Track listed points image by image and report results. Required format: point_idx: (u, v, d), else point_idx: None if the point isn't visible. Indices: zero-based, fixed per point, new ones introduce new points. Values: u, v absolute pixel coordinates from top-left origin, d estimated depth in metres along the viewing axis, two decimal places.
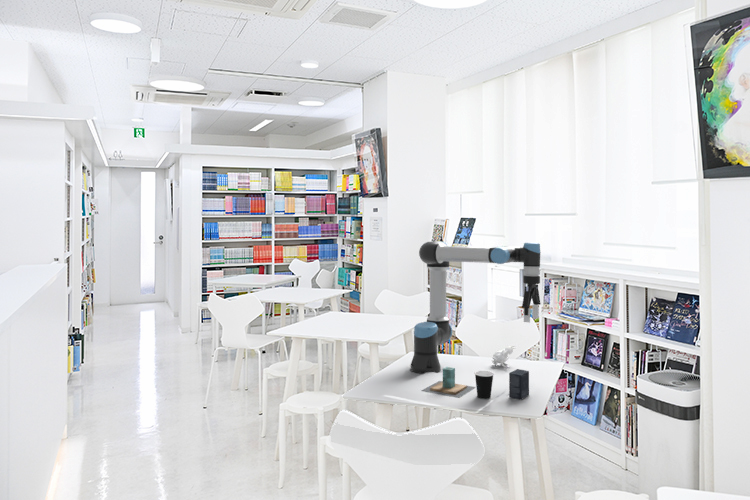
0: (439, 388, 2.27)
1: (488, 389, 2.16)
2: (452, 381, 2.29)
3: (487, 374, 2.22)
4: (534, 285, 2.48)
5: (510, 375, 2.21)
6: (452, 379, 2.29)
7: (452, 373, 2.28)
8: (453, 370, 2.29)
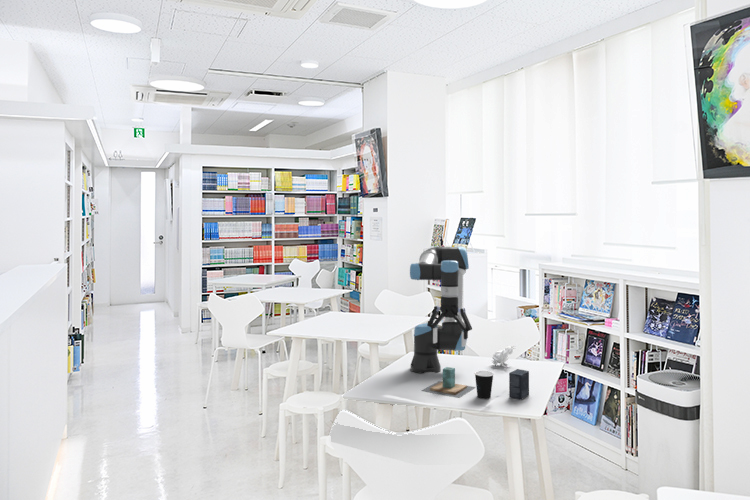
0: (439, 388, 2.27)
1: (488, 389, 2.16)
2: (452, 381, 2.29)
3: (487, 374, 2.22)
4: (450, 307, 2.27)
5: (510, 375, 2.21)
6: (452, 379, 2.29)
7: (452, 373, 2.28)
8: (453, 370, 2.29)
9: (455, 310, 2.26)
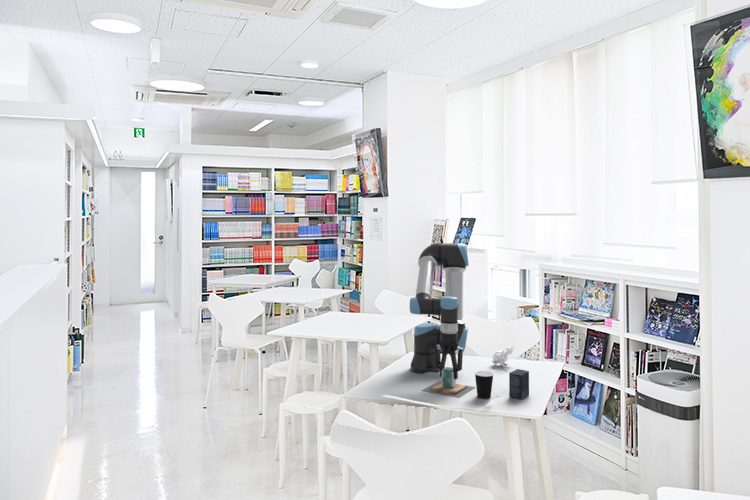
0: (439, 388, 2.27)
1: (488, 389, 2.16)
2: None
3: (487, 374, 2.21)
4: None
5: (510, 375, 2.21)
6: None
7: None
8: None
9: (454, 347, 2.27)
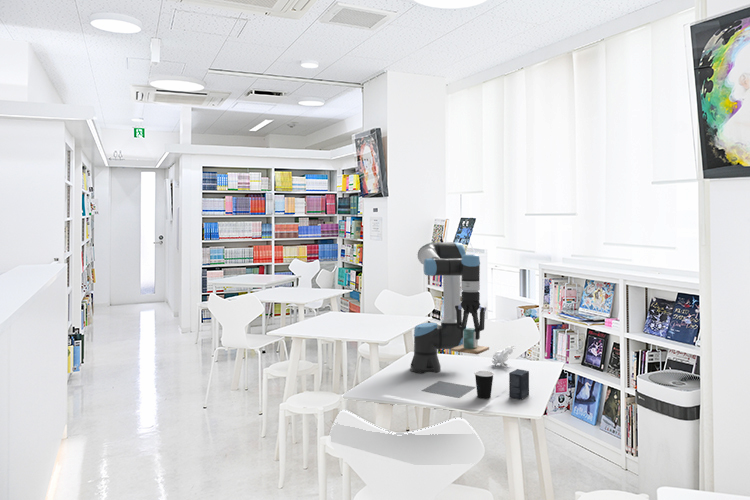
0: (460, 349, 2.19)
1: (488, 389, 2.16)
2: None
3: (487, 374, 2.21)
4: None
5: (510, 375, 2.21)
6: None
7: None
8: None
9: (476, 306, 2.19)
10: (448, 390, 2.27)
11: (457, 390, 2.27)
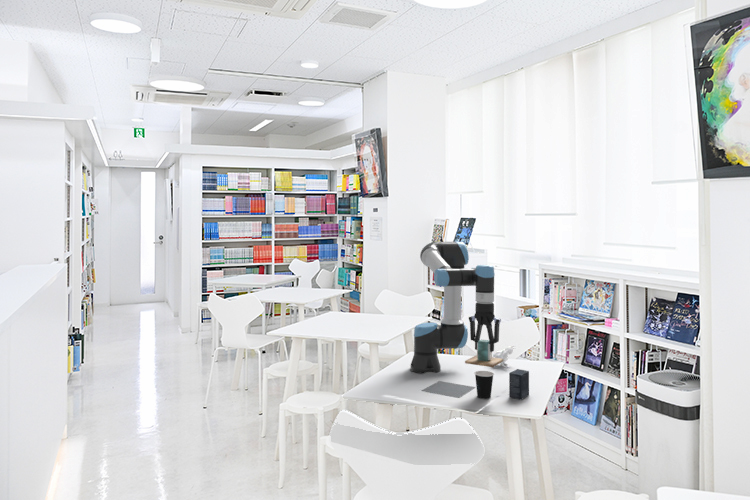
0: (475, 361, 2.16)
1: (488, 389, 2.16)
2: None
3: (487, 374, 2.21)
4: None
5: (510, 375, 2.21)
6: None
7: None
8: (489, 342, 2.17)
9: (491, 317, 2.15)
10: (448, 390, 2.27)
11: (457, 390, 2.27)
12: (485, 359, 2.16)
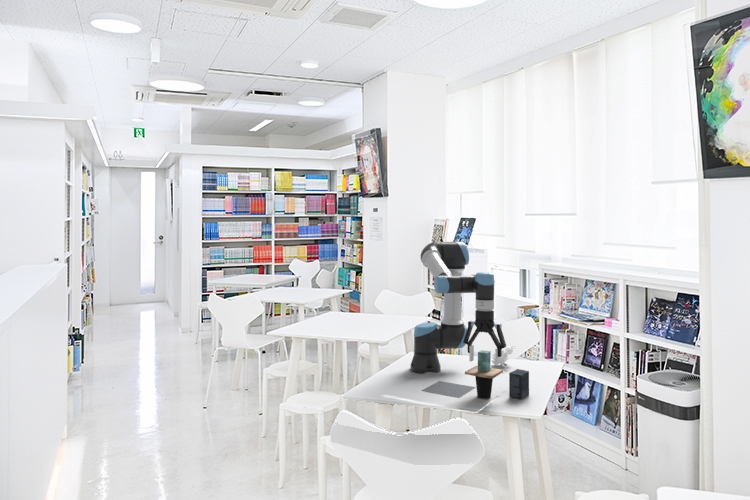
0: (474, 372, 2.16)
1: (488, 389, 2.16)
2: (488, 364, 2.17)
3: None
4: (485, 321, 2.16)
5: (510, 375, 2.21)
6: (488, 363, 2.17)
7: (488, 356, 2.17)
8: (489, 353, 2.18)
9: (491, 325, 2.15)
10: (448, 390, 2.27)
11: (457, 390, 2.27)
12: (485, 370, 2.16)
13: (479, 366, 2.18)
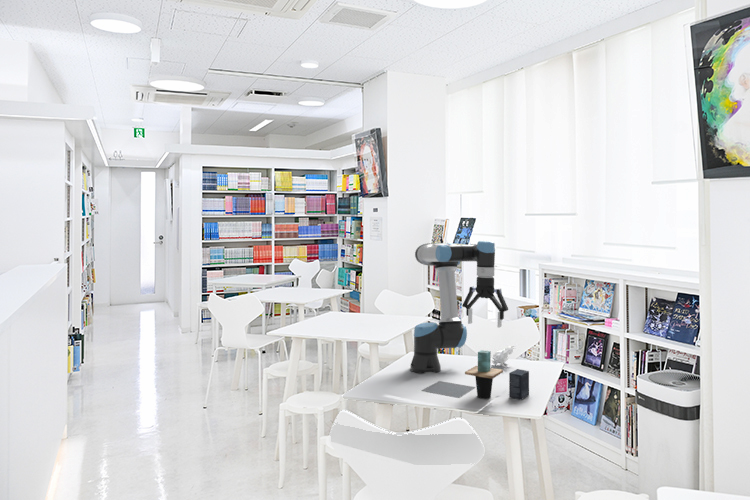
0: (474, 372, 2.16)
1: (488, 389, 2.16)
2: (488, 364, 2.17)
3: None
4: (486, 288, 2.27)
5: (510, 375, 2.21)
6: (488, 363, 2.17)
7: (488, 356, 2.17)
8: (489, 353, 2.18)
9: (491, 291, 2.26)
10: (448, 390, 2.27)
11: (457, 390, 2.27)
12: (485, 370, 2.16)
13: (479, 366, 2.18)
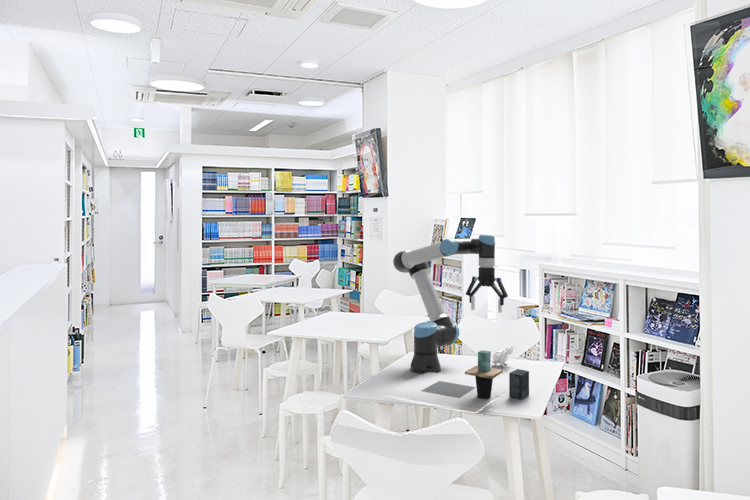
0: (474, 372, 2.16)
1: (488, 389, 2.16)
2: (488, 364, 2.17)
3: None
4: (487, 277, 2.50)
5: (510, 375, 2.21)
6: (488, 363, 2.17)
7: (488, 356, 2.17)
8: (489, 353, 2.18)
9: (492, 279, 2.49)
10: (448, 390, 2.27)
11: (457, 390, 2.27)
12: (485, 370, 2.16)
13: (479, 366, 2.18)
